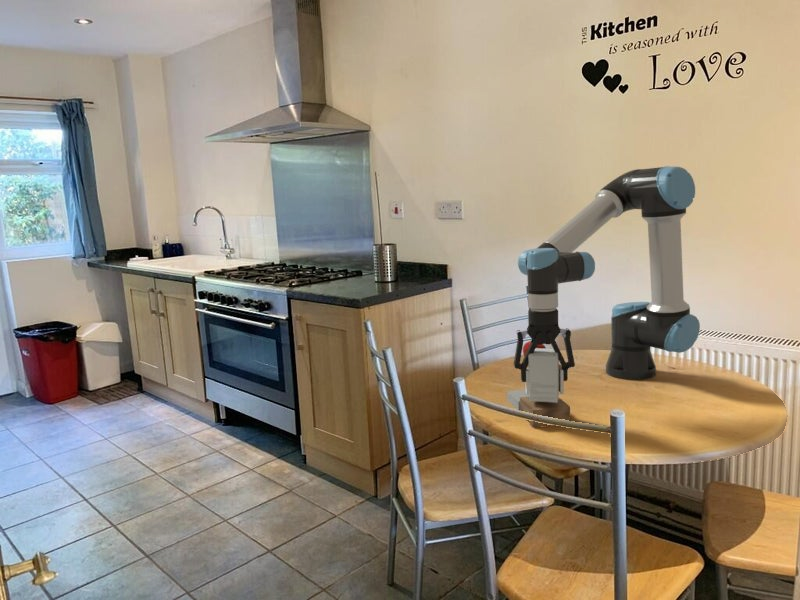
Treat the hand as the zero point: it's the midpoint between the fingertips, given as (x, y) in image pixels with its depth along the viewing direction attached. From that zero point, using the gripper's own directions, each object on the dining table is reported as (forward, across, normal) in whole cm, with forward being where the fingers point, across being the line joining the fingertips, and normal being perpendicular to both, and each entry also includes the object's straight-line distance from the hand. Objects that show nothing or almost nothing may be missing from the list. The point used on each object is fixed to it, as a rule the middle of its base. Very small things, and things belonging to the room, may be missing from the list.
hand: (544, 392), depth 151 cm
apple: (+7, -4, -50) cm, 51 cm away
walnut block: (+8, 0, 0) cm, 8 cm away
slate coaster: (+8, +3, -12) cm, 14 cm away
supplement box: (+2, 0, 0) cm, 2 cm away
